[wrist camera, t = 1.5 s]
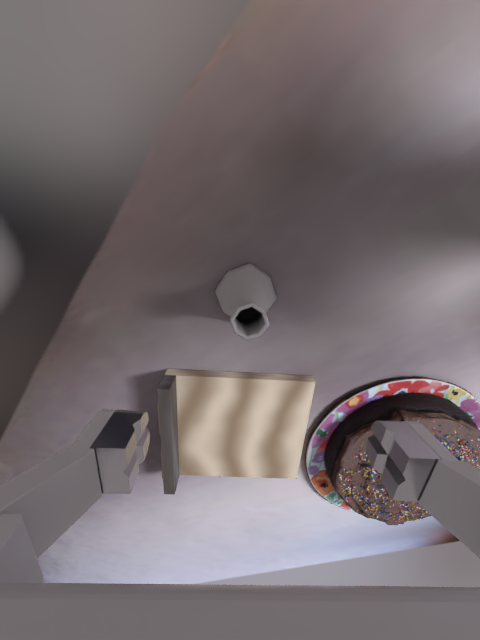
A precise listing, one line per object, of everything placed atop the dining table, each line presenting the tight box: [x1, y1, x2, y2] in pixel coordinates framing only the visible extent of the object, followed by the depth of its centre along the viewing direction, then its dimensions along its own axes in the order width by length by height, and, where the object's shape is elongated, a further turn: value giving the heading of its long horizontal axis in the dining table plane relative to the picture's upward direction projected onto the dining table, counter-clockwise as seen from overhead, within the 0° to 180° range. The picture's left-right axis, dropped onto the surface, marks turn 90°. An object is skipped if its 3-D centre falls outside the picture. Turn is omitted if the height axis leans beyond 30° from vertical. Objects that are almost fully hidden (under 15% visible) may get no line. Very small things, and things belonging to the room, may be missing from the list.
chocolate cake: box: [305, 377, 480, 525], centre depth 35 cm, size 28×28×7 cm
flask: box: [215, 263, 277, 340], centre depth 25 cm, size 7×7×10 cm
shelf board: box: [157, 369, 315, 494], centre depth 34 cm, size 20×18×4 cm
